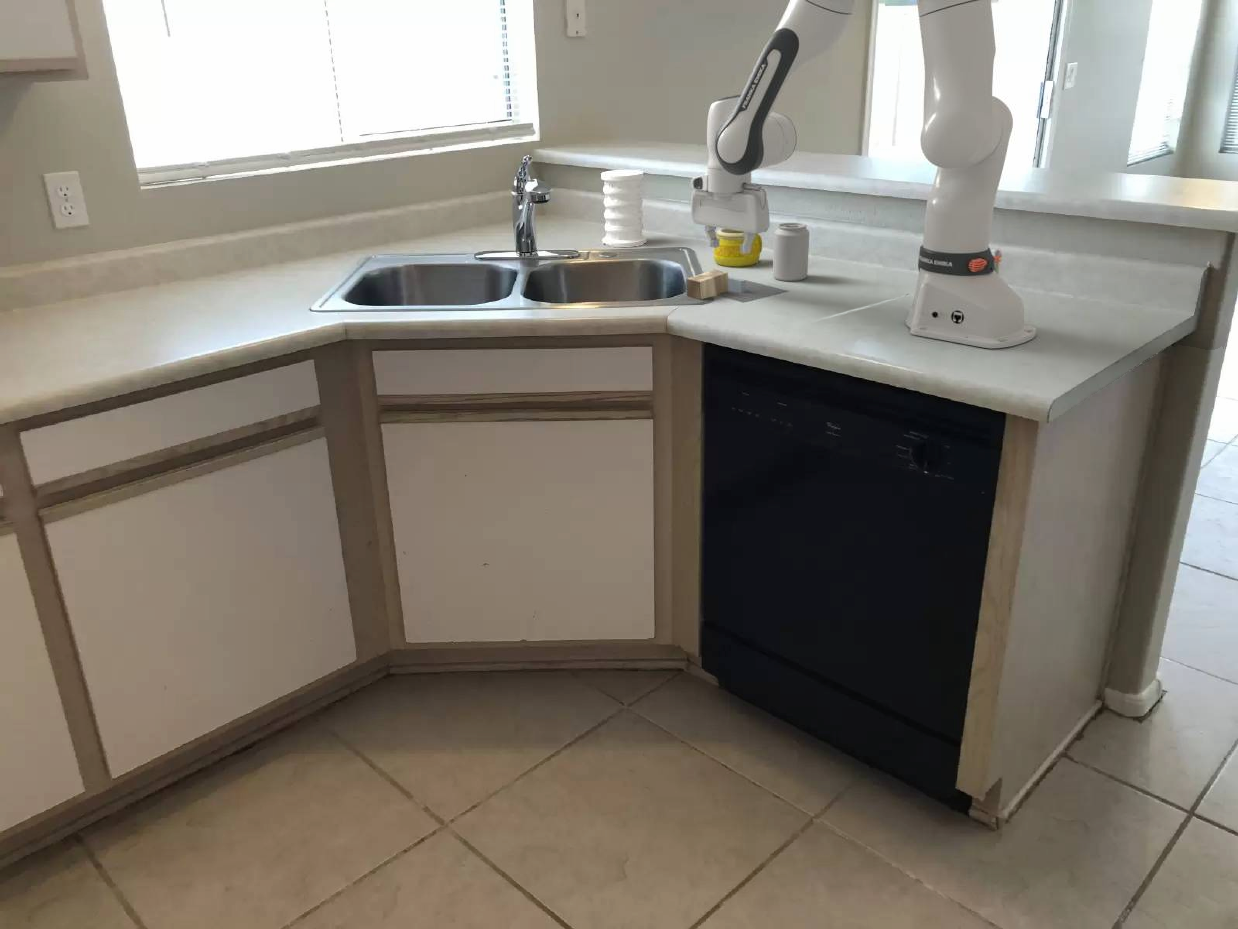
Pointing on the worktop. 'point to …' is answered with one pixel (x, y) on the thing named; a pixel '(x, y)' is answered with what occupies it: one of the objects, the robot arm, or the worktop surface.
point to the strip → (736, 284)
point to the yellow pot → (736, 249)
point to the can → (791, 252)
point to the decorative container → (623, 207)
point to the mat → (752, 292)
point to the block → (707, 284)
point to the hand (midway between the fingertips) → (729, 250)
